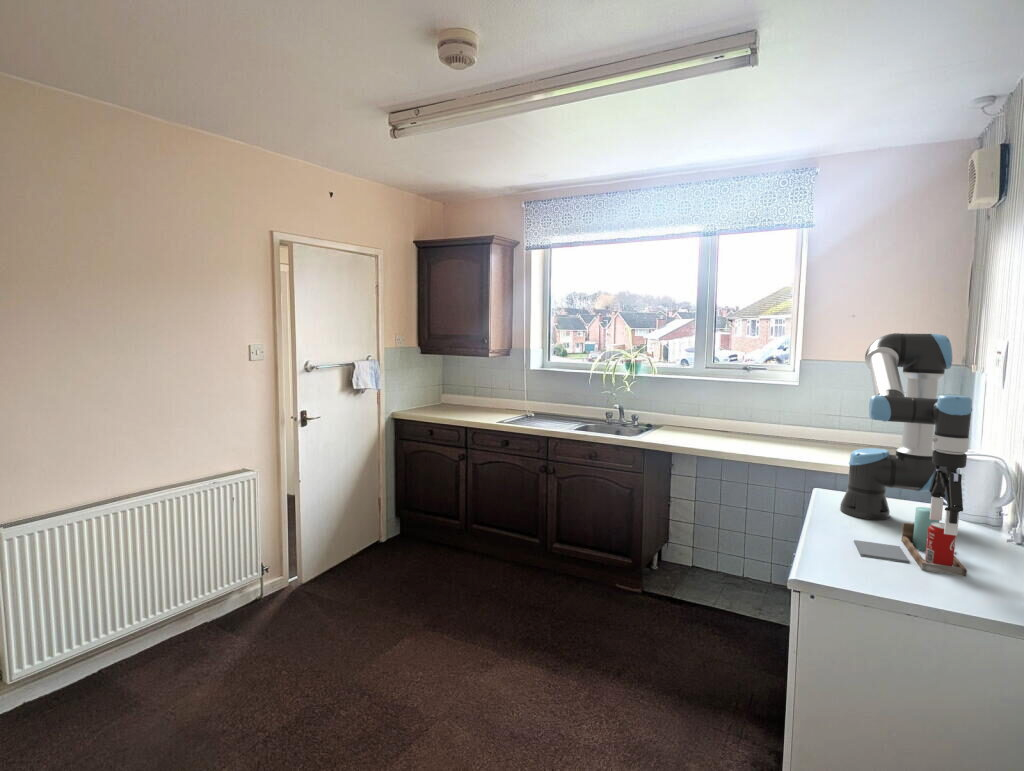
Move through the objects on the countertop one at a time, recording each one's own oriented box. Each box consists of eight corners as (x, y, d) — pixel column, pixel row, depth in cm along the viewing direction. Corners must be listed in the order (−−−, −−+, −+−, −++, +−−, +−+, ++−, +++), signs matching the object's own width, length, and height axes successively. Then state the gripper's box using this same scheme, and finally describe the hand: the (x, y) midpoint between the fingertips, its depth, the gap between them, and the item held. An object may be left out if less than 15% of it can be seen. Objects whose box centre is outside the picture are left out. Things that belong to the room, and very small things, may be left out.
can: (910, 543, 178) (913, 505, 177) (933, 546, 176) (937, 508, 175) (915, 550, 173) (918, 511, 172) (939, 553, 171) (943, 514, 169)
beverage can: (957, 572, 158) (961, 530, 156) (931, 570, 159) (935, 528, 158) (945, 563, 164) (949, 522, 162) (920, 561, 165) (924, 520, 164)
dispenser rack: (901, 540, 181) (903, 522, 180) (939, 546, 177) (941, 527, 176) (921, 569, 159) (923, 549, 158) (966, 576, 155) (968, 555, 154)
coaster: (853, 541, 179) (854, 539, 179) (899, 548, 175) (899, 546, 174) (860, 555, 168) (860, 553, 168) (909, 562, 163) (909, 560, 163)
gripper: (921, 442, 171) (914, 512, 173) (947, 458, 148) (939, 539, 150) (951, 445, 168) (945, 515, 170) (983, 461, 145) (975, 543, 147)
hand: (942, 526), depth 160 cm, fingers open, 13 cm apart
